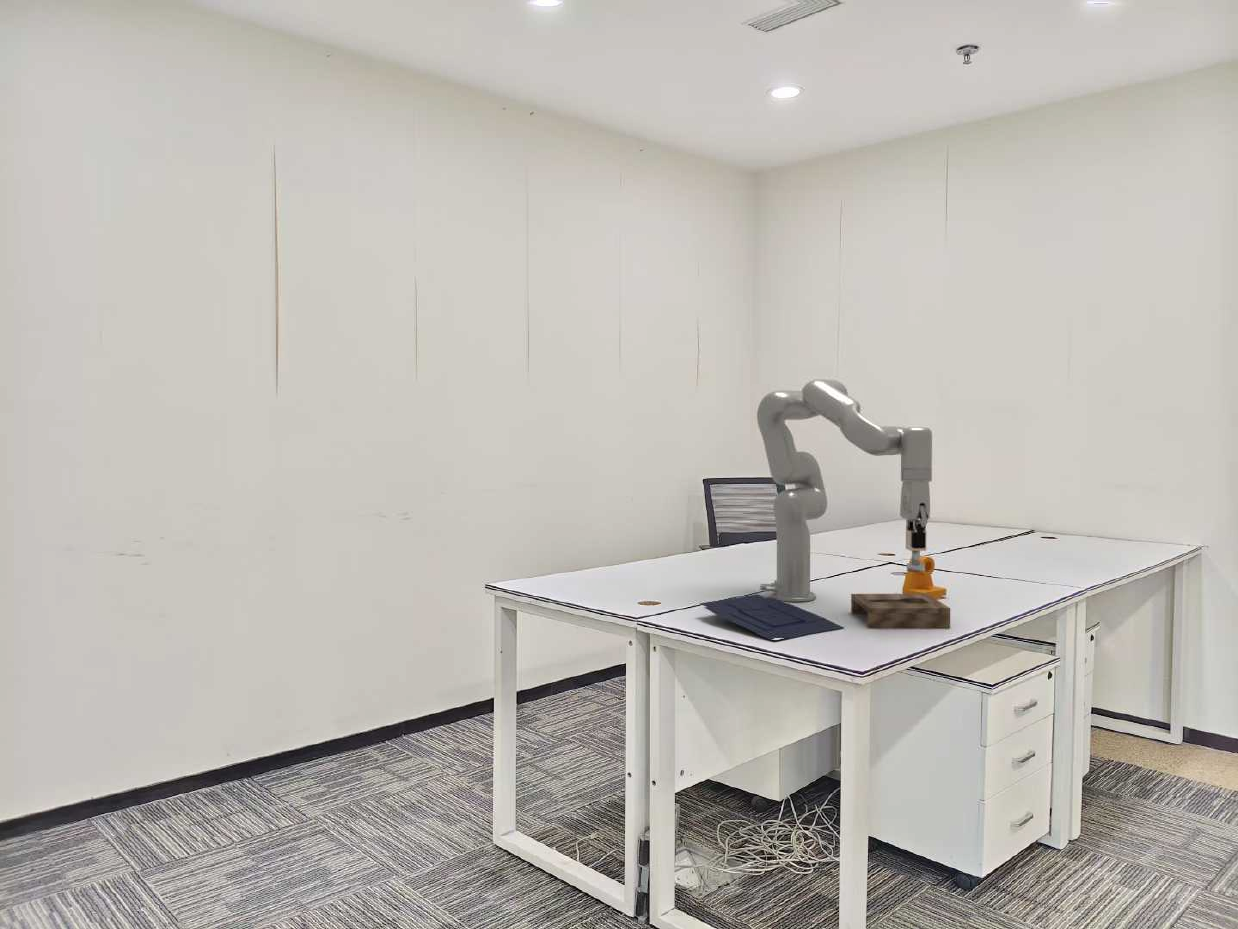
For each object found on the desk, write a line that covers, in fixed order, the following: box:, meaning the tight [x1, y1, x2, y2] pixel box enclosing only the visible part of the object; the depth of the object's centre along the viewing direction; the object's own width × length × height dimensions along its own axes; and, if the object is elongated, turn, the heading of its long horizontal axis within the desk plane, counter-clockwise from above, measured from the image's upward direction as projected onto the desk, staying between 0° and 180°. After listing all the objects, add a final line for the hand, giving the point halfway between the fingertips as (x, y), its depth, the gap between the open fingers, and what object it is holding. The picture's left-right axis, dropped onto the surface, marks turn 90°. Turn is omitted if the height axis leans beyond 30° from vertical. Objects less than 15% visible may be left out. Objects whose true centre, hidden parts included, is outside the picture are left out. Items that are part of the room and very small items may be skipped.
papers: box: [699, 593, 845, 641], centre depth 227 cm, size 24×30×4 cm
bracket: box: [901, 555, 947, 601], centre depth 258 cm, size 11×7×12 cm, turn 122°
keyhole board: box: [850, 593, 951, 629], centre depth 230 cm, size 20×18×5 cm
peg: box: [905, 528, 927, 572], centre depth 229 cm, size 4×4×10 cm
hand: (915, 546), depth 229 cm, fingers closed on peg, 4 cm apart
